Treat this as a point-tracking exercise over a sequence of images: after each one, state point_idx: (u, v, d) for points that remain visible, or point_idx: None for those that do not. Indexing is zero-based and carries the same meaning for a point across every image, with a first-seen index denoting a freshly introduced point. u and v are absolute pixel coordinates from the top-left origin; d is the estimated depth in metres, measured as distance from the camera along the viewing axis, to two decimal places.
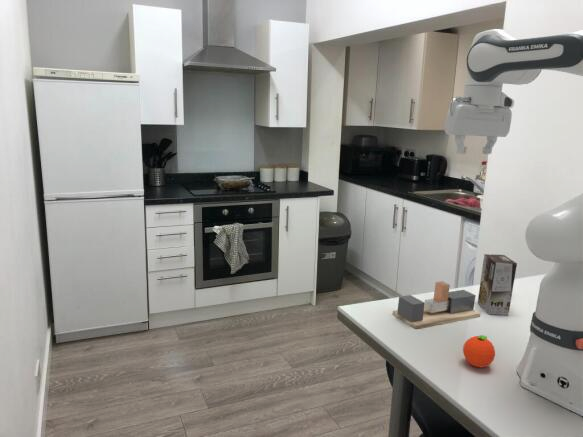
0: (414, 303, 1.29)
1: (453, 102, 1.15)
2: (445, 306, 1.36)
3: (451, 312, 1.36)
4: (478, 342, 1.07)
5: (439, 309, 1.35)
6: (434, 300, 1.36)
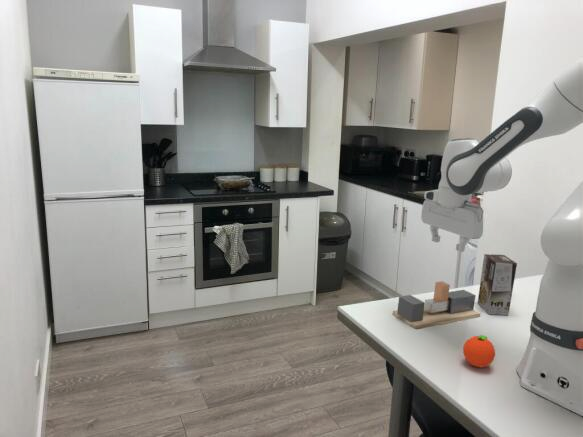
0: (414, 303, 1.29)
1: None
2: (445, 306, 1.36)
3: (451, 312, 1.36)
4: (478, 342, 1.07)
5: (439, 309, 1.35)
6: (434, 300, 1.36)
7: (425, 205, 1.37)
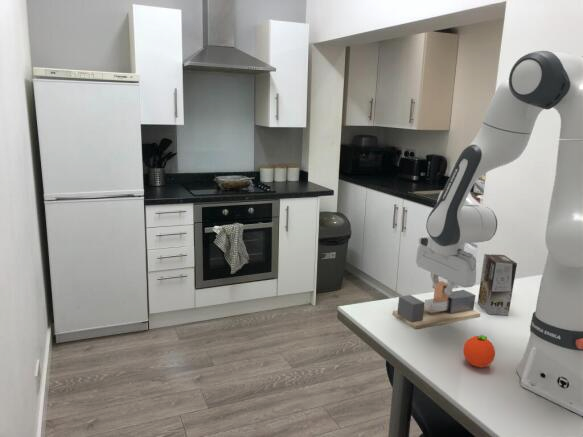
0: (414, 303, 1.29)
1: None
2: (445, 306, 1.36)
3: (451, 312, 1.36)
4: (478, 342, 1.07)
5: (439, 309, 1.35)
6: (434, 300, 1.36)
7: (420, 250, 1.40)
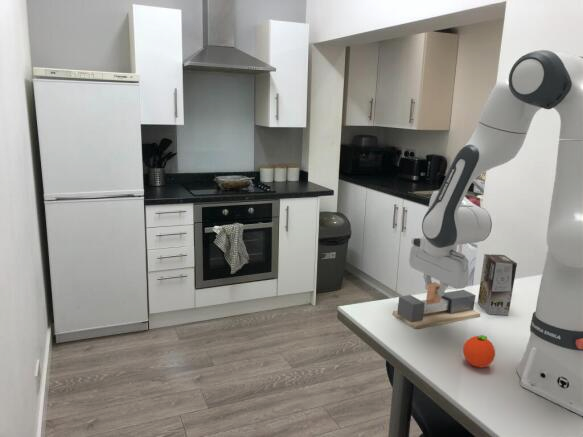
0: (414, 303, 1.29)
1: None
2: (438, 307, 1.35)
3: (451, 312, 1.36)
4: (478, 342, 1.07)
5: (432, 310, 1.34)
6: (427, 301, 1.35)
7: (412, 251, 1.39)
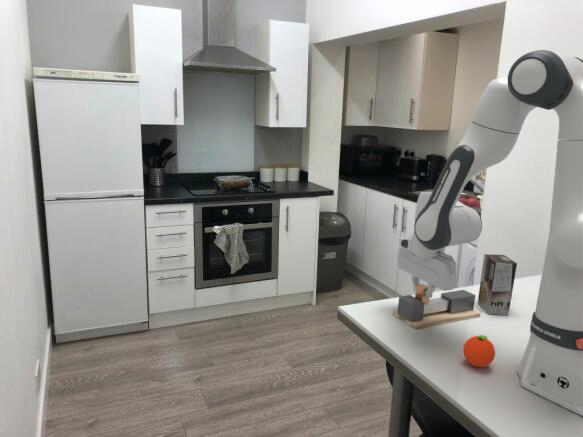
0: (414, 303, 1.29)
1: None
2: (426, 309, 1.33)
3: (451, 312, 1.36)
4: (478, 342, 1.07)
5: None
6: None
7: (400, 252, 1.37)
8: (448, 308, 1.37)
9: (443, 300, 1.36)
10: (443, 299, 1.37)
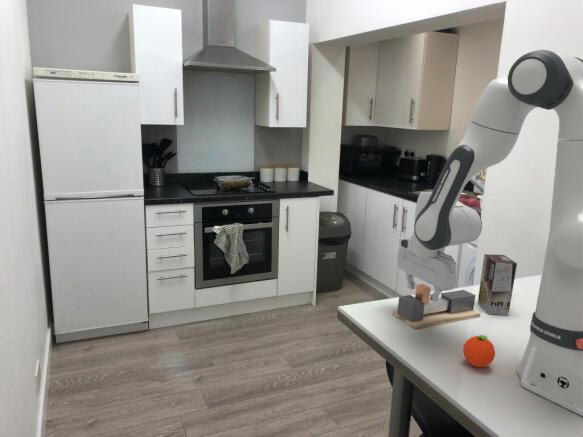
0: (414, 303, 1.29)
1: None
2: (426, 309, 1.33)
3: (451, 312, 1.36)
4: (478, 342, 1.08)
5: None
6: None
7: (400, 252, 1.37)
8: (448, 308, 1.37)
9: (443, 300, 1.36)
10: (443, 299, 1.37)
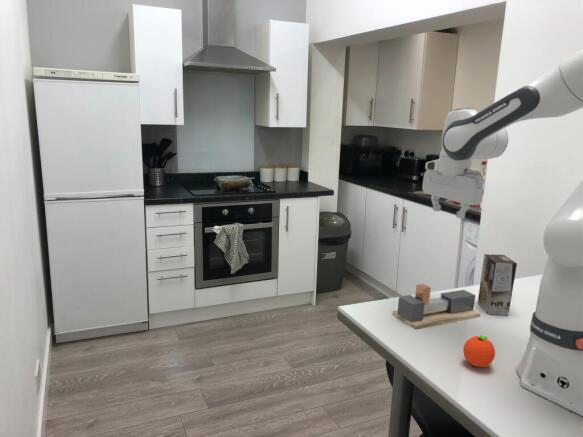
0: (414, 303, 1.29)
1: None
2: (426, 309, 1.33)
3: (451, 312, 1.36)
4: (478, 342, 1.08)
5: None
6: None
7: (426, 175, 1.42)
8: (448, 308, 1.37)
9: (443, 300, 1.36)
10: (443, 299, 1.37)
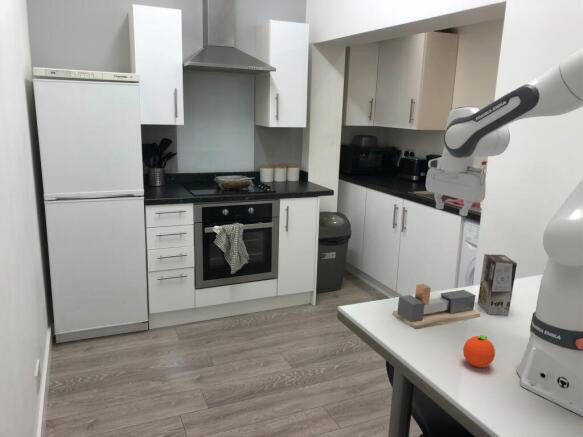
0: (414, 303, 1.29)
1: None
2: (426, 309, 1.33)
3: (451, 312, 1.36)
4: (478, 342, 1.08)
5: None
6: None
7: (429, 173, 1.43)
8: (448, 308, 1.37)
9: (443, 300, 1.36)
10: (443, 299, 1.37)
